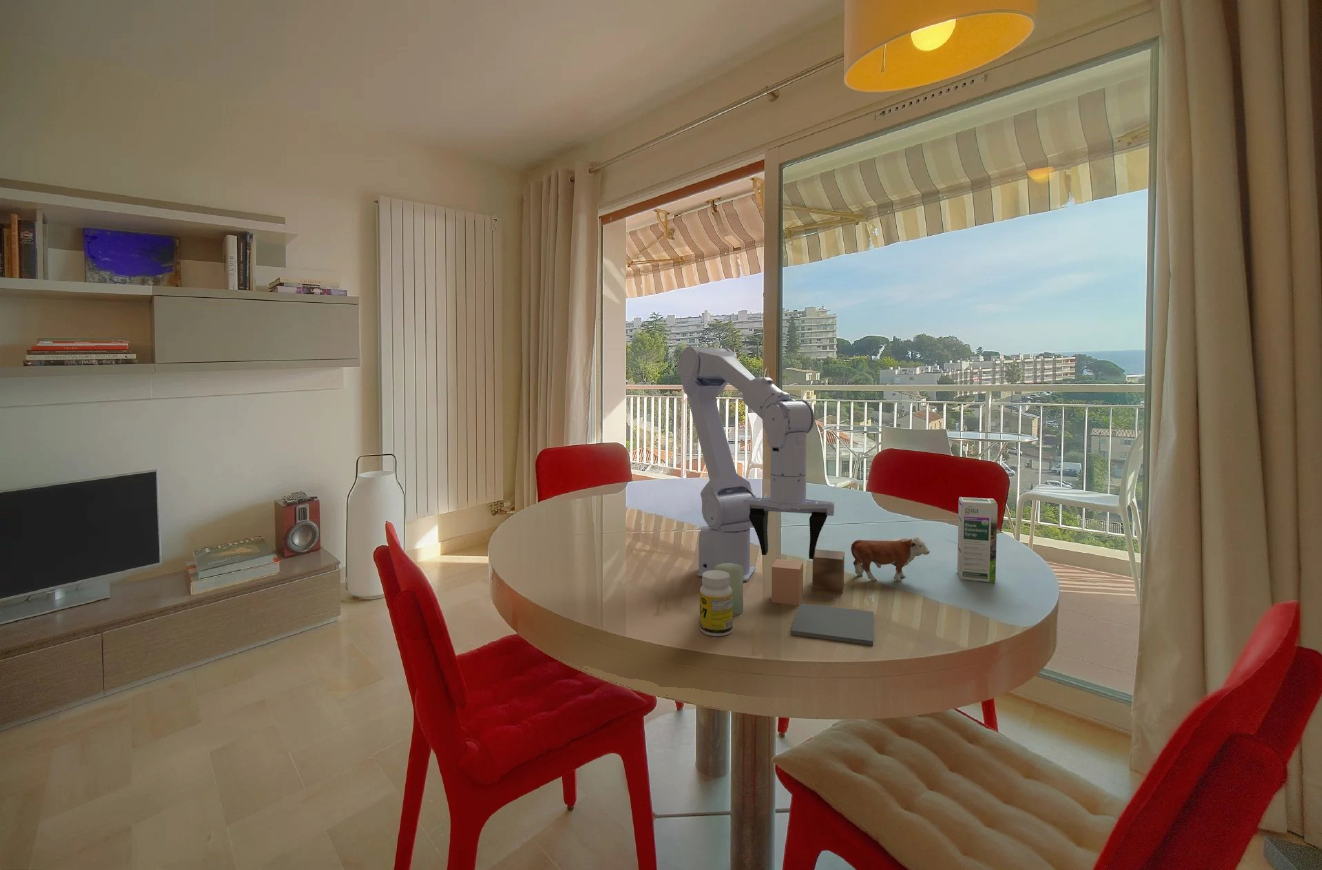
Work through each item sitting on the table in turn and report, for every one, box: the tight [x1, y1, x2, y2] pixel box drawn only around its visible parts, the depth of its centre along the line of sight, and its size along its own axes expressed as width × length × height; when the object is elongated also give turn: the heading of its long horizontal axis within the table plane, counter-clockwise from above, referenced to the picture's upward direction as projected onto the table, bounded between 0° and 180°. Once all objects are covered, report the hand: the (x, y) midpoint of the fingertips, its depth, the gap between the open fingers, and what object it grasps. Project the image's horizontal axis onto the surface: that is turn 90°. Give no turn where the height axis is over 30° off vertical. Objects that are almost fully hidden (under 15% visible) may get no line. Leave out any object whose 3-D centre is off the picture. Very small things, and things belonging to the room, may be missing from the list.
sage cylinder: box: [715, 563, 744, 617], centre depth 92 cm, size 4×4×7 cm
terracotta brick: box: [771, 558, 804, 606], centre depth 97 cm, size 4×4×6 cm
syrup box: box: [956, 496, 999, 584], centre depth 107 cm, size 6×6×14 cm
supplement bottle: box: [699, 570, 734, 637], centre depth 85 cm, size 5×5×8 cm
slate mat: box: [790, 603, 874, 646], centre depth 86 cm, size 11×11×1 cm
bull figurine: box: [850, 536, 931, 582], centre depth 106 cm, size 4×13×8 cm, turn 78°
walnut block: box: [811, 548, 845, 595], centre depth 102 cm, size 5×5×6 cm
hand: (787, 555), depth 97 cm, fingers open, 7 cm apart
